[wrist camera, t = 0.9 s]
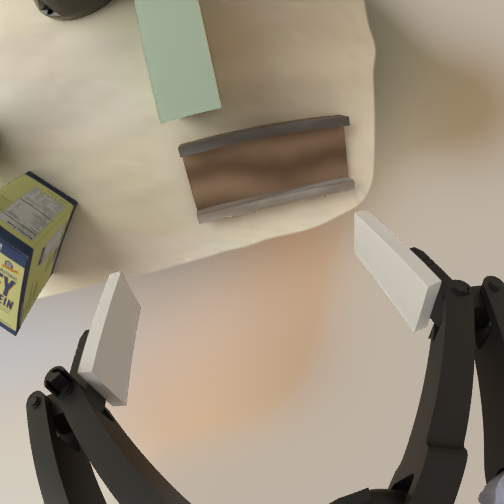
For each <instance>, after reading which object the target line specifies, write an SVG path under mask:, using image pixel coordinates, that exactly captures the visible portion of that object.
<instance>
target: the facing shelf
mask: <svg viewBox="0 0 504 504" xmlns="http://www.w3.org/2000/svg"><path fill="white" fill-rule="evenodd" d="M349 125H350V122H349V117H348V116H342V115H334V116H325V117H316V118H308V119H300V120H293V121H287V122H281V123H274V124H269V125H263V126H258V127H252V128H247V129H242V130H238V131H233V132H228V133H224V134H220V135H215V136H211V137H207V138H203V139H199V140H195V141H192V142H188V143H184V144H181V145H180V146H179V147H178V150H179V153H180V157H183V161H184V165H185V168H186V172H187V176H188V179H189V183H190V186H191V190H192V193H193V197H194V200H195V204H196V207H197V217H198V221H199V224H202V223H206V222H210V221H214V220H218V219H222V218H226V217H230V216H232V217H236V216H240V215H245V214H249V213H253V212H256V210H259V209H264V208H268V207H272V206H277V205H281V204H286V203H290V202H295V201H299V200H305V201H306V200H311V199H315V198H320V197H325V196H326V195H327V194H332V193H337V192H342V191H347V190H352V189H355V187H354V181H353V180H352V179H350V178H348V171H347V158H346V146H345V136H344V127H343V126H349Z"/></svg>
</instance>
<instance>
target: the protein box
mask: <svg viewBox="0 0 504 504" xmlns="http://www.w3.org/2000/svg"><path fill="white" fill-rule="evenodd" d="M76 205H77V202H76V201H75V200H73V199H72V198H70V197H68V196H67V195H65V194H64V193H62V192H61V191H59V190H57V189H56V188H54V187H53V186H51V185H50V184H48V183H47V182H45V181H43V180H42V179H40V178H39V177H37V176H36V175H34V174H33V173H31V172H30V171H29V172H27V173H25V174H24V175H22V176H21V177H19V178H17V179H15V180H14V181H12V182H10V183H9V184H7V185H6V186H4V187H3V188H1V189H0V326H1V327H3V328H4V329H6V330H7V331H9V332H10V333H12V334H13V335H15V336H16V335H17V332H18V331H19V329H20V327H21V325H22V323H23V321H24V319H25V318H26V316H27V314H28V312H29V310H30V309H31V307H32V305H33V304H34V302H35V300H36V299H37V297H38V295H39V293H40V292H41V290H42V289H43V287H44V286H45V284H46V283H47V281H48V279H49V278H50V276H51V275H52V273H53V270H54V266H55V263H56V260H57V257H58V254H59V250H60V248H61V245H62V242H63V239H64V236H65V233H66V231H67V228H68V225H69V223H70V220H71V218H72V215H73V213H74V210H75V208H76Z"/></svg>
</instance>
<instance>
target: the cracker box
mask: <svg viewBox="0 0 504 504" xmlns="http://www.w3.org/2000/svg"><path fill="white" fill-rule="evenodd" d="M134 3H135V9H136V14H137V20H138V25H139V30H140V35H141V41H142V45H143V50H144V55H145V60H146V64H147V69H148V73H149V78H150V82H151V86H152V91H153V95H154V99H155V103H156V107H157V111H158V115H159V119H160V123H161V124H162V123H165V122H168V121H172V120H175V119H179V118H183V117H186V116H190V115H194V114H198V113H202V112H206V111H210V110H214V109H219V108H222V107H221V102H220V98H219V93H218V89H217V87H218V85H217V80H216V76H215V71H214V67H213V62H212V58H211V53H210V49H209V44H208V40H207V35H206V30H205V26H204V21H203V17H202V12H201V8H200V3H199V0H134Z"/></svg>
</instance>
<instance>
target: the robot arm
mask: <svg viewBox="0 0 504 504" xmlns="http://www.w3.org/2000/svg"><path fill="white" fill-rule="evenodd" d="M110 1H111V0H34V2H35V4H36V6H37V8H38V9H39V10H40V12H42V13H43V14H44V15H46V16H48V17H50V18H53V19H56V20H62V21H66V20H73V19H77V18H81V17H84V16H86V15H88V14H91V13H93V12H95V11H96V10H98V9H100V8H101V7H103V6H105V5H106V4H107V3H109V2H110ZM354 242H355V243H354V254H355V255H356V257H357V258H358V259H359V260H360V261H361V263H362V264H363V265H364V267H365V268H366V269H367V270H368V272H369V273H370V274H371V275H372V277H373V278H374V279H375V280H376V282H377V283H378V284H379V286H380V287H381V288H382V289H383V291H384V292H385V293H386V295H387V296H388V297H389V299H390V300H391V301H392V303H393V304H394V305H395V307H396V308H397V309H398V311H399V312H400V313H401V315H402V316H403V318H404V319H405V320H406V322H407V323H408V325H409V326H410V327H411V329H412V330H413V332H416V331H418V330H421V329H423V328H425V327H426V326H427V325H428V322H429V319H430V318H431V319H432V321H433V322H434V325H433V327H432V330H431V333H430V335H429V339H430V338H431V344H430V351H429V357H428V364H427V369H426V375H425V380H424V385H423V390H422V394H421V398H420V403H419V407H418V411H417V414H416V418H415V422H414V425H413V429H412V432H411V435H410V439H409V442H408V445H407V448H406V451H405V454H404V457H403V459H402V462H401V464H400V465H399V467H398V468H397V470H396V472H395V474H394V476H393V478H392V481H391V483H390V485H389V488H388V489H372V490H369V489H368V488H366V489H363V490H361V491H358V492H355V493H353V494H350V495H347V496H345V497H341V498H339V499H337V500H335V501H333V502H332V503H330V504H454V502H455V499H456V496H457V493H458V490H459V487H460V484H461V481H462V477H463V474H464V470H465V466H466V462H467V456H468V455H467V450H466V449H465V448H464V440H465V435H466V430H467V424H468V418H469V412H470V404H471V396H472V387H473V375H474V358H475V363H476V369H477V375H478V381H479V388H480V396H481V404H482V415H483V429H484V469H485V477H486V484H487V485H486V486H485V488H484V490H483V491H482V492H481V493H480V495H479V498H478V500H479V502H480V503H481V504H504V283H503V282H502V281H501V280H500V279H499V278H497V277H495V276H487V277H486V278H484V281H483V283H482V285H481V286H473V287H470V286H469V285H468V284H467V283H465V282H463V281H461V280H452V279H451V278H450V277H449V276H448V275H447V274H446V273H445V272H444V271H443V270H442V269H441V268H440V267H439V266H438V265H437V264H435V263H434V261H433V260H431V259H430V258H429V257H428V256H427V255H426V254H425V253H424V252H423V251H421V250H419V249H417V248H415V247H413V248H410V249H409V248H408V247H407V246H406V245H405V244H404V243H403V242H401V240H400V239H398V238H397V237H396V236H395V235H394V234H393V233H392V232H391V231H390V230H388V229H387V228H386V227H385V226H384V225H383V224H382V223H380V222H379V221H378V220H377V219H376V218H375V217H374V216H373V215H371V214H370V213H369V212H368V211H367V210H364V211H360V212H356V213H355V241H354ZM140 309H141V307H140V305H139V303H138V302H137V300H136V298H135V296H134V295H133V293H132V291H131V289H130V287H129V285H128V284H127V282H126V280H125V278H124V276H123V274H122V272H121V271H120V272H116V273H112V274H109V277H108V280H107V282H106V285H105V287H104V290H103V293H102V296H101V298H100V301H99V304H98V307H97V310H96V313H95V315H94V319H93V322H92V325H91V328H90V330H86V331H85V332H84V333H83V335H82V336H81V338H80V340H79V343H78V348H77V350H76V355H75V356H74V360H73V363H72V367H71V370H70V374H69V373H68V372H67V371H66V370H65V369H64V368H63V367H61V366H56V367H54V368H52V369H51V370H50V371H49V372H48V373H47V375H46V377H45V380H44V385H45V387H46V388H47V389H48V390H49V391H50V392H51V393H52V394H50V395H48V396H46V395H44V394H43V393H42V392H41V391H35V392H33V393H32V394H31V395H30V396H29V398H28V400H27V404H26V409H27V419H28V428H29V436H30V443H31V449H32V455H33V460H34V465H35V469H36V474H37V478H38V482H39V486H40V490H41V494H42V497H43V500H44V504H106V501H105V499H104V497H103V495H102V492H101V490H100V488H99V485H98V482H97V480H96V478H95V475H94V472H93V469H92V467H91V464H92V465H93V467H94V468H95V470H96V471H97V473H98V474H99V476H100V478H101V479H102V480H103V482H104V483H105V485H106V486H107V488H108V489H109V490H110V492H111V493H112V494H113V496H114V497H115V498H116V500H117V501H118V502H119V504H191V503H190V502H188V501H187V500H186V499H185V498H184V497H183V496H182V495H181V494H180V493H179V492H178V491H177V490H176V489H175V488H174V487H172V485H171V484H170V483H169V482H168V481H167V480H166V479H165V478H164V477H163V476H162V475H161V474H160V473H159V472H158V471H157V470H156V469H155V468H154V466H153V465H152V464H151V463H150V462H149V461H148V460H147V459H146V458H145V456H144V455H143V454H142V453H141V452H140V450H139V449H138V448H137V447H136V446H135V445H134V443H133V442H132V441H131V439H130V438H129V437H128V436H127V434H126V433H125V432H124V431H123V429H122V428H121V426H120V425H119V424H118V423H117V421H116V420H115V418H114V417H113V416H112V414H111V413H110V411H109V410H108V409H107V408H106V407H105V403H106V401H107V402H109V403H110V404H111V405H112V406H125V405H126V404H127V395H128V386H129V378H130V369H131V363H132V356H133V349H134V342H135V337H136V331H137V325H138V320H139V314H140ZM89 460H90V461H89ZM90 462H91V464H90Z"/></svg>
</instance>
